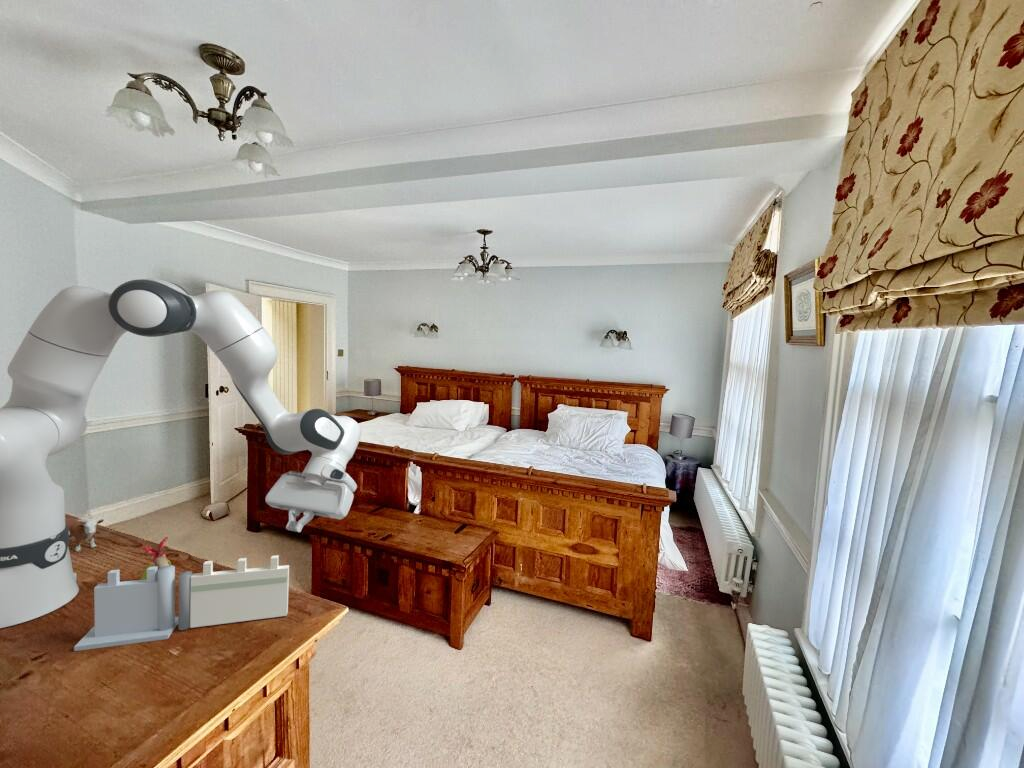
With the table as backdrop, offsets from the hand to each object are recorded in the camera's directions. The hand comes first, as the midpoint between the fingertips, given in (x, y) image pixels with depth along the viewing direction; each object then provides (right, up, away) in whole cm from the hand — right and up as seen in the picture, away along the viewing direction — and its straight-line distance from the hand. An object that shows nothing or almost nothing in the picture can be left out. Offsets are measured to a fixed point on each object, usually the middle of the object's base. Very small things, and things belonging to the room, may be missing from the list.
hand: (292, 530), depth 92 cm
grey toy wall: (-19, -12, -19) cm, 29 cm away
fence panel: (-4, -12, -14) cm, 19 cm away
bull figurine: (-56, -7, +6) cm, 57 cm away
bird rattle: (-25, -11, -5) cm, 28 cm away
